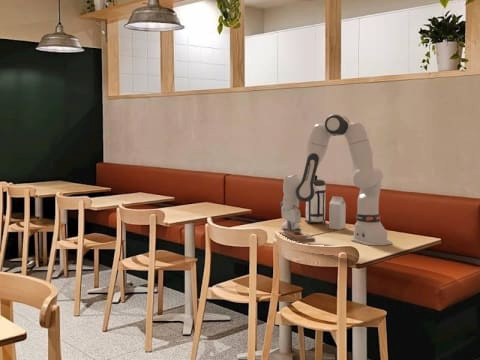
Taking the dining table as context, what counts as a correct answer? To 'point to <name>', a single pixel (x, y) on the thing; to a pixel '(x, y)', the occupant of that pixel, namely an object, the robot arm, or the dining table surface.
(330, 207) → the milk carton
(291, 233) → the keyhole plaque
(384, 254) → the dining table surface
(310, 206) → the coffee press
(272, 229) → the dining table surface
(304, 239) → the mount board
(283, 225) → the flower in vase
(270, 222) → the dining table surface
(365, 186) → the robot arm
